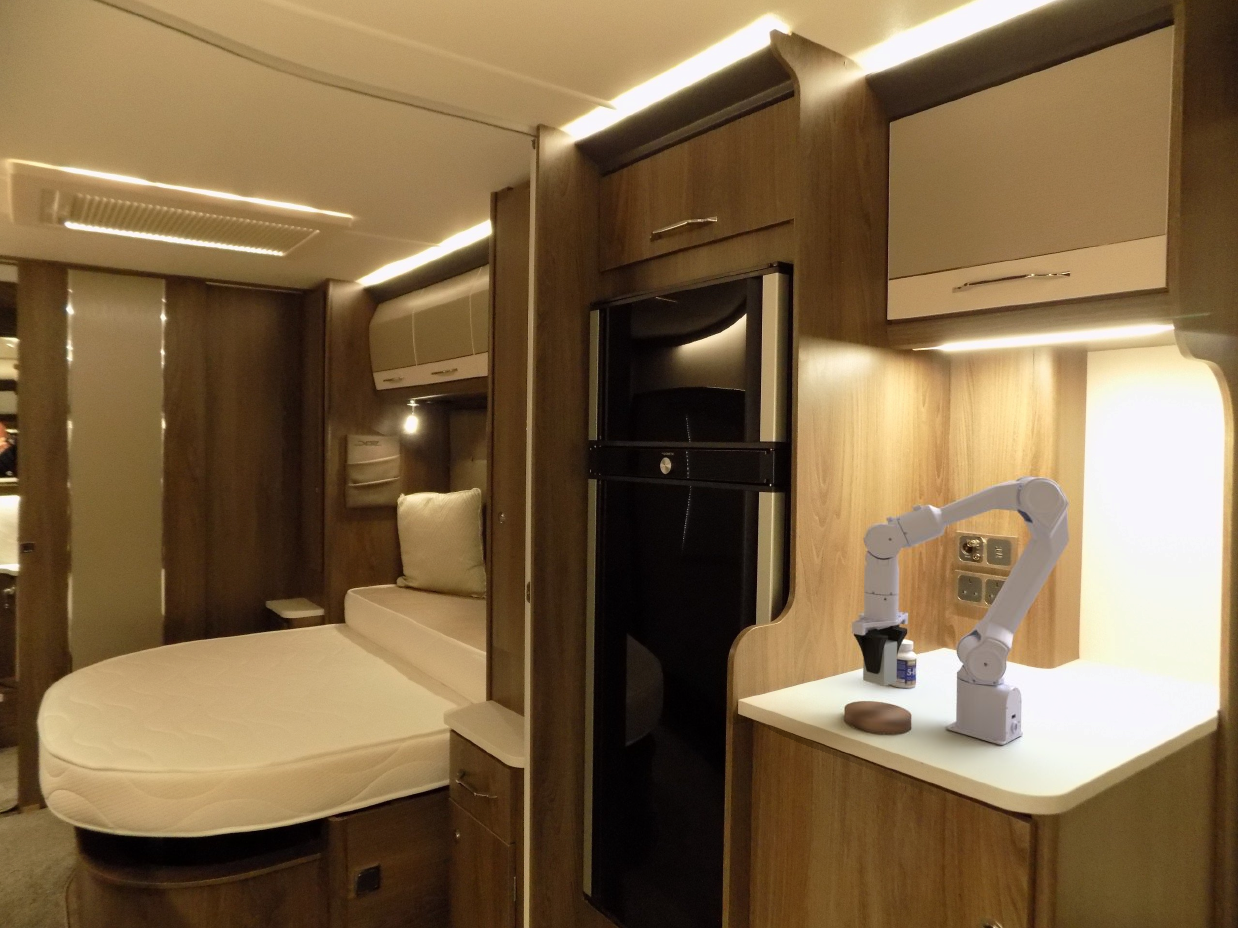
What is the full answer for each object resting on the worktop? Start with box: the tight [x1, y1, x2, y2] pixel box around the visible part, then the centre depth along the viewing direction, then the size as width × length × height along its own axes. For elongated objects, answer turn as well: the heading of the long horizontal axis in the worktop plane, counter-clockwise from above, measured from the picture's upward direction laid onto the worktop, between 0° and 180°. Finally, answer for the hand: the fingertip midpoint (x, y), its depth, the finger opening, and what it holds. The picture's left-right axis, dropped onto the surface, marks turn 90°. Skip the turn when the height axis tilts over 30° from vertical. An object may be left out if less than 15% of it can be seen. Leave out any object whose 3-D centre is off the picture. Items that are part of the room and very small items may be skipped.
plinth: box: [843, 700, 913, 736], centre depth 131 cm, size 11×11×2 cm
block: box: [862, 640, 897, 687], centre depth 132 cm, size 4×4×7 cm
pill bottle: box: [889, 638, 917, 689], centre depth 154 cm, size 5×5×9 cm
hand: (880, 670), depth 132 cm, fingers closed on block, 4 cm apart
